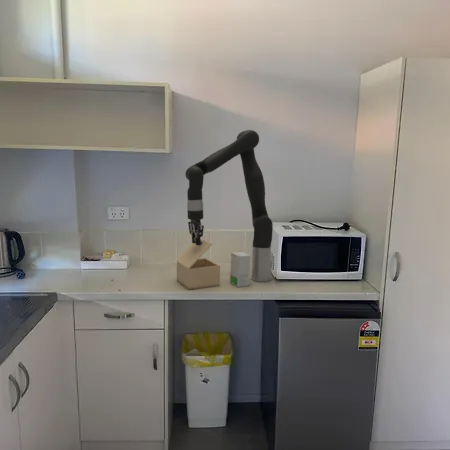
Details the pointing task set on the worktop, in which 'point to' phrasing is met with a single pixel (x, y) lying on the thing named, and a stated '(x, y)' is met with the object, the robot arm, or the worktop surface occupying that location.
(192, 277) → the carton
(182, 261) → the lid flap
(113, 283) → the worktop surface
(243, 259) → the skincare box
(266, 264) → the robot arm
